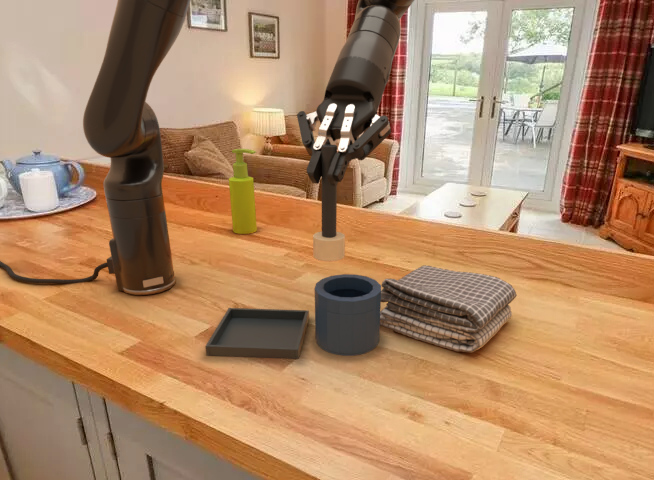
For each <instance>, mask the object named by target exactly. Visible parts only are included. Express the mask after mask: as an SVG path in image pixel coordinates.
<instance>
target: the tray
mask: <svg viewBox="0 0 654 480" xmlns="http://www.w3.org/2000/svg"><path fill="white" fill-rule="evenodd" d="M309 320H310V310H307V309H280V308H279V309H278V308H277V309H276V308H246V307H245V308H244V307H243V308H242V307H228V309H227V310H226V311H225V314H224V315H223V316H222V318H221V320H220V322H219V323H218V325H217V326H216V328H215V330H214V331H213V333H212V335H211V336H210V338H209V340H208V341H207V342H206V344H205V354H206V356H207V357H228V358H230V357H231V358H233V357H234V358H256V359H257V358H259V359H285V360H287V359H288V360H299V359H300V355H301V351H302V348H303V343H304V340H305V336H306V332H307V328H308V324H309Z"/></svg>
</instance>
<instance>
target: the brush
mask: <svg viewBox="0 0 654 480" xmlns="http://www.w3.org/2000/svg"><path fill="white" fill-rule="evenodd" d="M335 152H336V153H338V145H337V144H336V145H322V146H321V171H322V176H321V231H317V232H315V233H313V235H312V256H313V258H314V259H315V260H317V261H321V262H329V263H330V262H338V261H341V260H343V259H344V258H345V256H346V235H345V234H344V233H343V232H340V231H337V216H338V215H337V214H338V213H337V211H338V210H337V209H338V208H337V204H338V201H337V200H338V199H337V198H338V196H337V195H338V185H337V186H333V185H330V183H329V181H328V179H327V173H328V171H329V168H330V165H331V162H332V160H333V157H334V154H335Z"/></svg>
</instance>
